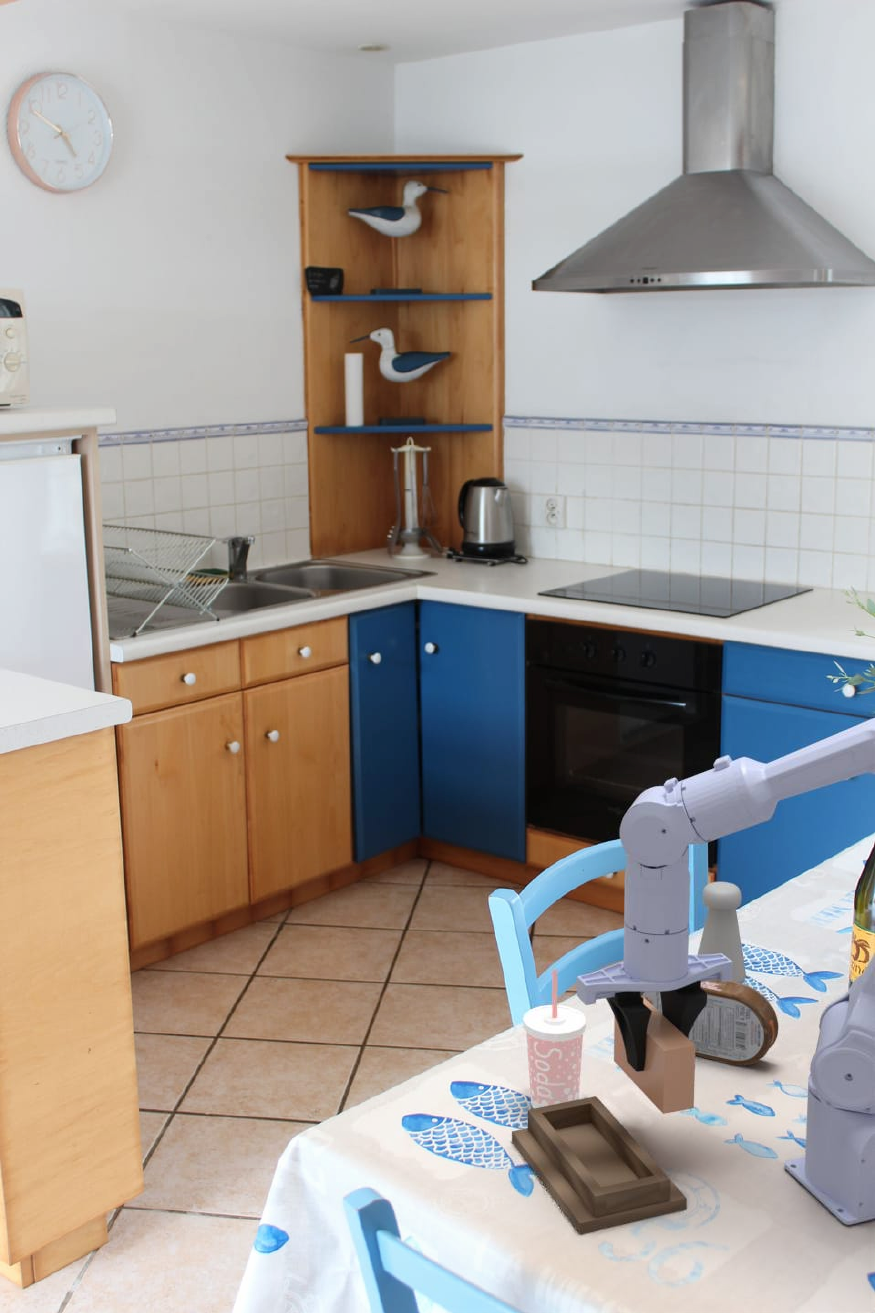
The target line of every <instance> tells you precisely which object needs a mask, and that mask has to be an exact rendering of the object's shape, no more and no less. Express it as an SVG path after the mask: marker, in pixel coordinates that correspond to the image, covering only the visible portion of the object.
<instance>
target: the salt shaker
mask: <svg viewBox="0 0 875 1313" xmlns="http://www.w3.org/2000/svg"><path fill="white" fill-rule="evenodd" d="M702 902H703V904H704V906H705V907H707V908H708V910H707V914H706V918H705V922H704V925H703V930H702V934H701V939H700V942H699V948H698V951H697V955H708V954H719V953H722V954H723V955H725V956H726V957H727V958H729V959H730V960H731V961H732V981H731V982H735V983H740V984H744V982H745V980H746V977H747V972H746V966H745V958H744V954H743V953H744V952H743V946H742V941H741V940H742V939H741V934H740V933H741V932H740V926H739V921H738V920H739V919H738V915H737V914H738V913H737V909H738V908H740V906H741V904H742V891H741V889H740V888H739V886H737V885H736V884H735V883H732V882H728V881H712V882H709V883H708V884H706V885H705V886H704V888H703V890H702Z"/></svg>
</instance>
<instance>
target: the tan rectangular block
mask: <svg viewBox="0 0 875 1313" xmlns="http://www.w3.org/2000/svg"><path fill="white" fill-rule="evenodd" d="M643 1003H644V1004H645V1005H646V1006H647V1007H648V1008H649V1009H650V1010H651V1011H652V1013H651V1016H650V1019H649V1023H648V1028H647V1034H646V1051H645V1067H644V1071H639V1072H637V1071H635V1070H634V1069H633V1068H632V1066H631V1065H630V1064H629V1063H628V1062H627V1056H626V1051H625V1046H624V1042H623V1038H622V1035H621V1032H620V1029H619V1026H618V1023H617V1021H616V1018H615V1017H614V1021H613V1022H614V1024H613V1026H614V1028H613V1031H614V1032H613V1033H614V1034H613V1037H614V1038H613V1062H614V1063H615V1064H616V1065H617V1067H619V1068H620V1070H622V1072H624V1074H625V1075H626V1076H627V1077H628V1078H629V1079H630V1080H631V1081H632V1083H634V1084H635V1086H637V1088H638V1089H639V1090H640V1091H641V1092H642V1093H643V1094H644V1095H645V1096H646V1097H647V1098H648V1100H649V1101H650V1102H652V1104H653V1105H654V1106H655V1107H656V1108H657V1110H659V1111H660V1112H661V1114H662V1115H666V1114H670V1113H676V1112H681V1111H685V1110H691V1109H694V1108H695V1078H696V1076H695V1075H696V1074H695V1073H696V1071H695V1070H696V1055H695V1045H694V1044H693V1043H692V1042H691V1041H690V1040H689V1039H688V1038H687V1037H686V1036H685V1035H684V1034H683V1033H682V1032H681V1031H679V1030H678V1029H677V1028H676V1027H675V1026H674V1025H673V1024H672V1023H671V1022H670V1021H669V1020H668V1019H667V1018H665V1017H664V1016H663V1015H662V1014H661V1013H660V1012H659V1011H658V1010H657V1009H656V1008H655V1007H654V1006H653V1005H652V1004H650V1003H649V1002H648V1001H647V1000H646V999H645V998H644V997H643Z"/></svg>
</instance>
